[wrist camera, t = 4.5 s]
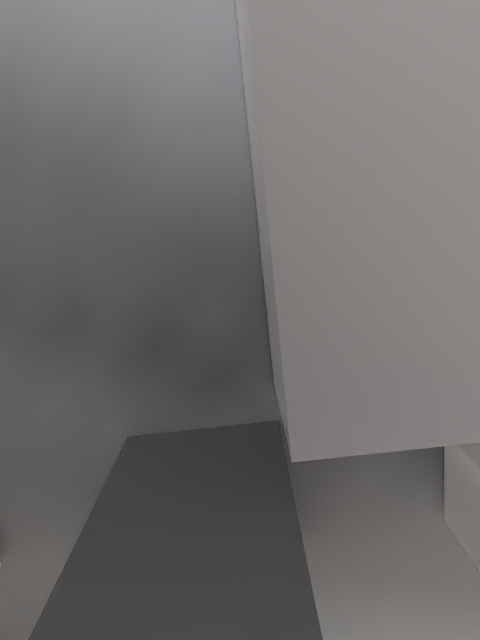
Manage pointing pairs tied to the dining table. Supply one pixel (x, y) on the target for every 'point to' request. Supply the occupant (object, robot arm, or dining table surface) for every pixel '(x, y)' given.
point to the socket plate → (368, 217)
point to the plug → (189, 546)
